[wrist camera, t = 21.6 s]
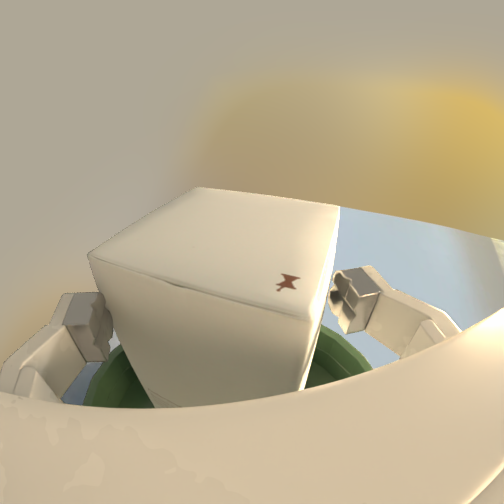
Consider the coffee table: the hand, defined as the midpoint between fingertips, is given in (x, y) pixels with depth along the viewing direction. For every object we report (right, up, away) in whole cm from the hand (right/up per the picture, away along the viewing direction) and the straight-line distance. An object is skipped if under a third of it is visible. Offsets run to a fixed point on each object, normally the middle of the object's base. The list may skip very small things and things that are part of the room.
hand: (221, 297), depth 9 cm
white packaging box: (0, -8, +7) cm, 11 cm away
